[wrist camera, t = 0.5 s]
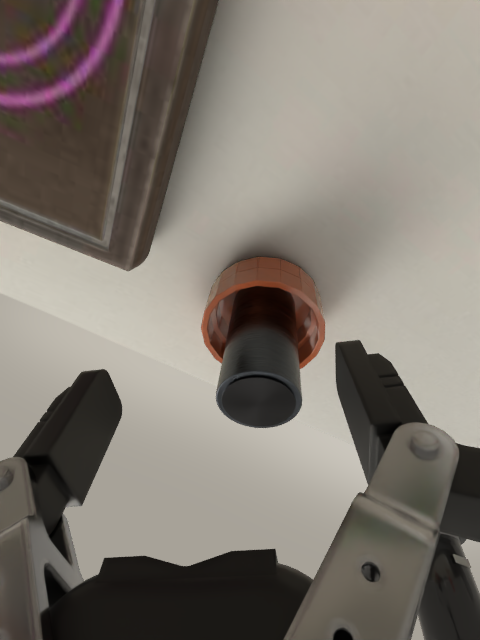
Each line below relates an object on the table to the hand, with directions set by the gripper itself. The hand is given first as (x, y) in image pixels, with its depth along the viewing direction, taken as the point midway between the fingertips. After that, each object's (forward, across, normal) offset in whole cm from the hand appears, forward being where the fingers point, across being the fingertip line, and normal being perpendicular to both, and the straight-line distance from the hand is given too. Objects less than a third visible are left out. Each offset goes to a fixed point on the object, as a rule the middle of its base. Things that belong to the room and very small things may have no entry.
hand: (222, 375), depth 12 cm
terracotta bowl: (+18, +1, -7) cm, 20 cm away
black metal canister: (+18, +1, -7) cm, 19 cm away
